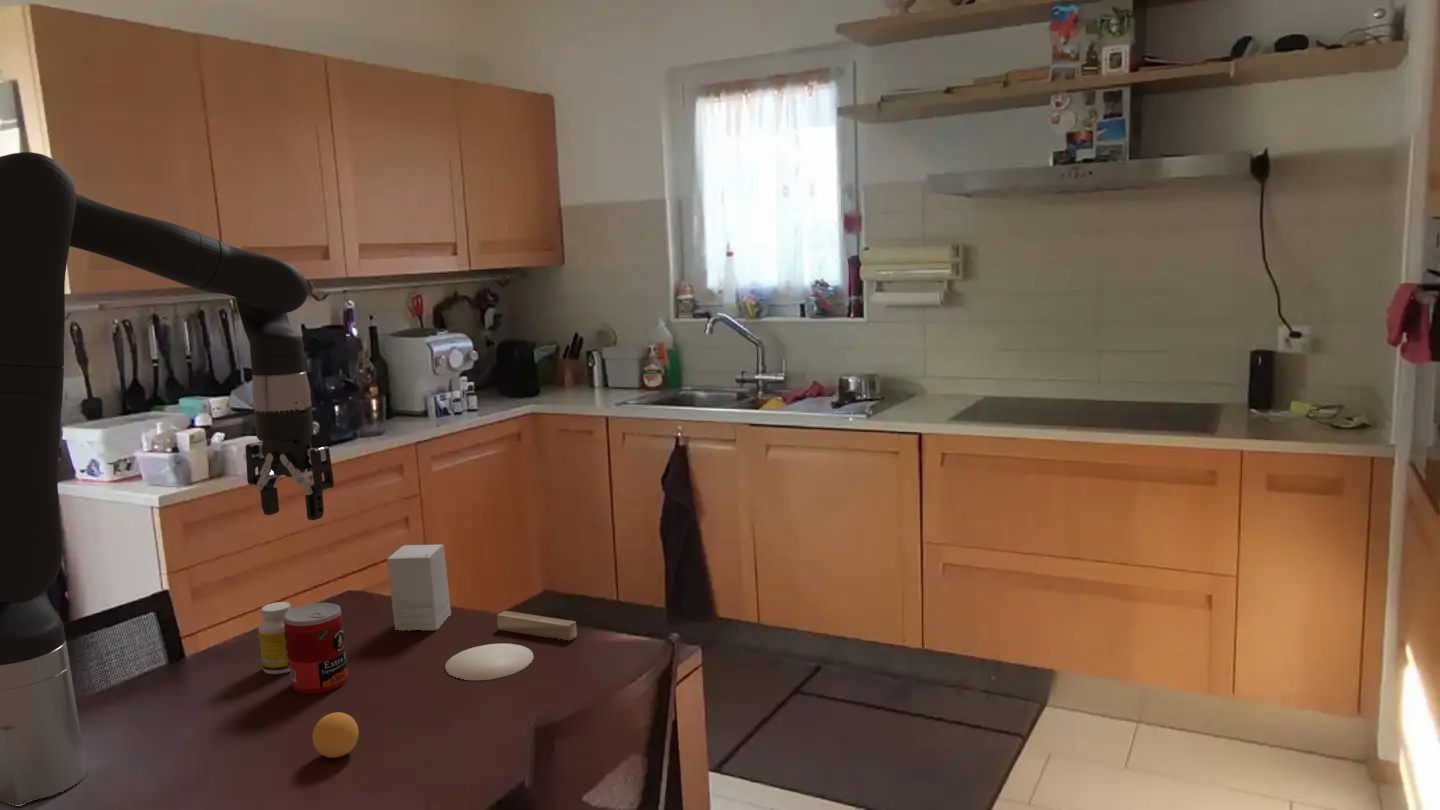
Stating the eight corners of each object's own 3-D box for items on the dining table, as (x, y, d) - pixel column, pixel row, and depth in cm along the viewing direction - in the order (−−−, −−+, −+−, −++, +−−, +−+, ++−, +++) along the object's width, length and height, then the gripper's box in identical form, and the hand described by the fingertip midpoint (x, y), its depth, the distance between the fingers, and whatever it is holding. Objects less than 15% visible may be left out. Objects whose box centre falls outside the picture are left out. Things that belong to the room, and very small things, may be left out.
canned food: (330, 696, 147) (322, 622, 145) (280, 693, 149) (271, 620, 147) (359, 673, 155) (351, 602, 153) (311, 671, 156) (302, 601, 154)
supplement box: (452, 614, 177) (445, 543, 175) (436, 631, 170) (429, 557, 168) (410, 615, 178) (403, 543, 176) (393, 631, 171) (385, 557, 169)
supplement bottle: (292, 674, 155) (285, 612, 154) (256, 676, 155) (249, 613, 154) (307, 659, 161) (300, 599, 159) (272, 661, 161) (265, 600, 159)
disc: (497, 686, 148) (497, 684, 148) (426, 672, 154) (426, 671, 154) (550, 651, 160) (550, 650, 160) (482, 640, 165) (482, 638, 165)
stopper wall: (569, 641, 163) (568, 625, 163) (498, 629, 170) (496, 614, 169) (576, 636, 165) (575, 621, 165) (505, 625, 171) (504, 610, 171)
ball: (337, 769, 127) (332, 728, 126) (305, 761, 129) (300, 720, 128) (370, 748, 131) (365, 708, 131) (338, 741, 134) (334, 701, 133)
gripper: (224, 407, 146) (236, 519, 149) (299, 410, 140) (310, 527, 143) (267, 399, 153) (278, 506, 156) (340, 402, 147) (350, 514, 150)
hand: (293, 516), depth 149 cm, fingers open, 8 cm apart
